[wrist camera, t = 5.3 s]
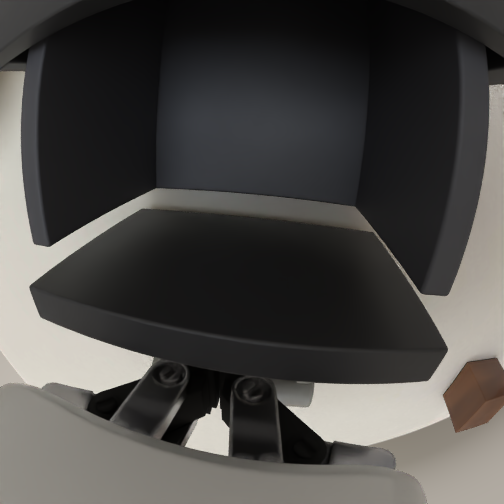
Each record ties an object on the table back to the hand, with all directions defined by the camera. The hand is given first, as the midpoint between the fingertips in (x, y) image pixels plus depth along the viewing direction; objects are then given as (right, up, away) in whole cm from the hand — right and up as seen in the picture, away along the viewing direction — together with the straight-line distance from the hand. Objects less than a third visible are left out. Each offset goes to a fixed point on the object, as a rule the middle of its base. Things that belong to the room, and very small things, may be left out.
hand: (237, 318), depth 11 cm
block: (+21, -9, +5) cm, 23 cm away
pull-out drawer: (+1, +7, 0) cm, 7 cm away
